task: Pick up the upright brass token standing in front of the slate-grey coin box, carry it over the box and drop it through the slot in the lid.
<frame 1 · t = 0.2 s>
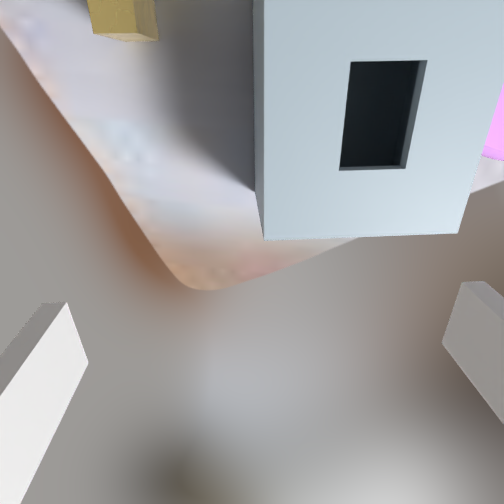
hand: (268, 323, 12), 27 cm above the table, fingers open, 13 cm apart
toy chair: (468, 99, 34), on the table
token: (137, 7, 29), on the table
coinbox: (333, 103, 34), on the table
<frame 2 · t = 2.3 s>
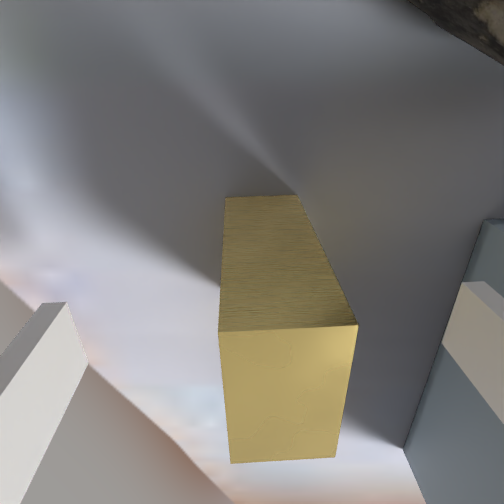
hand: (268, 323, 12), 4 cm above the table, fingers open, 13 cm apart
token: (261, 248, 15), on the table
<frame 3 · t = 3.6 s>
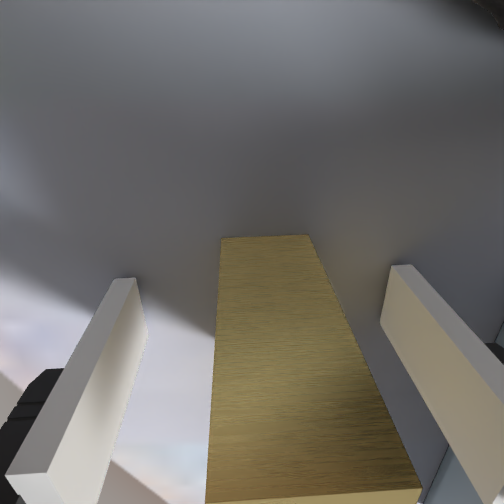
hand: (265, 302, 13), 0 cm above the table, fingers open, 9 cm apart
token: (265, 295, 13), on the table
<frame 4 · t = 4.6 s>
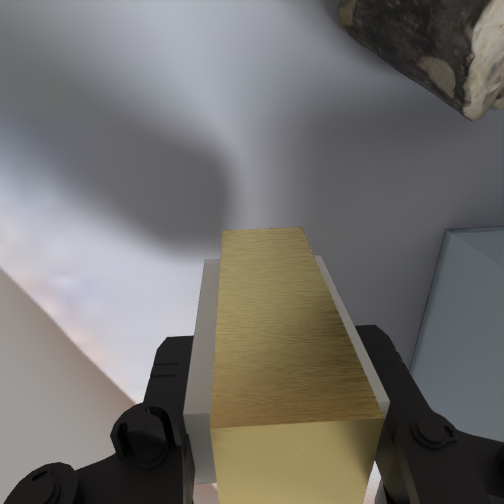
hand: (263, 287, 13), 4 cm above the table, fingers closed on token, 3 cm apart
token: (262, 283, 14), point 4 cm above the table, touching gripper
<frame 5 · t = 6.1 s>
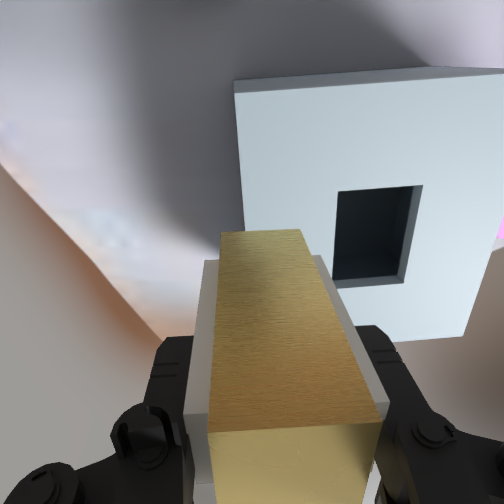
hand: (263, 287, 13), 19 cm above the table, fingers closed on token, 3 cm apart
token: (261, 285, 14), point 19 cm above the table, touching gripper
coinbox: (326, 181, 32), on the table
when the fingers open (13 cm above the table, at t = 7.9 s): token drops 12 cm, resting on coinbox.
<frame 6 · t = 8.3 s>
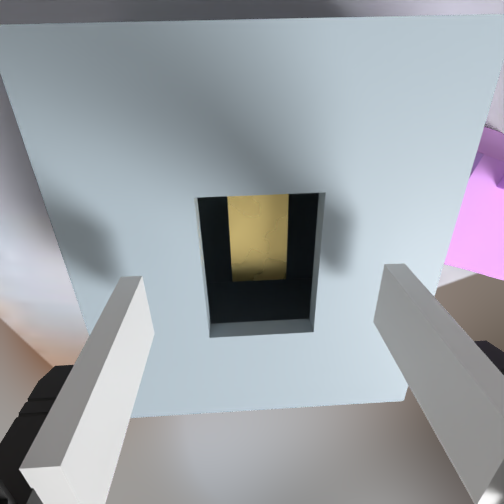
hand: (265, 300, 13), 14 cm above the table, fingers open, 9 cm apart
toy chair: (431, 178, 26), on the table
token: (251, 191, 25), resting on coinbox
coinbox: (248, 186, 25), on the table
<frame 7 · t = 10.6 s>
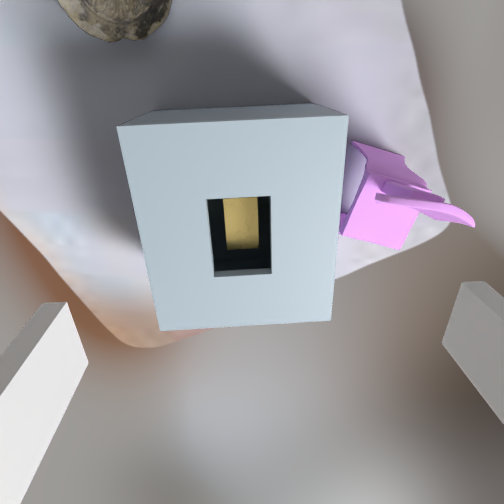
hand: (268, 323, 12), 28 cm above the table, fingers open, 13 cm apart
toy chair: (360, 186, 38), on the table
token: (240, 196, 38), resting on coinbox
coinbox: (238, 193, 38), on the table
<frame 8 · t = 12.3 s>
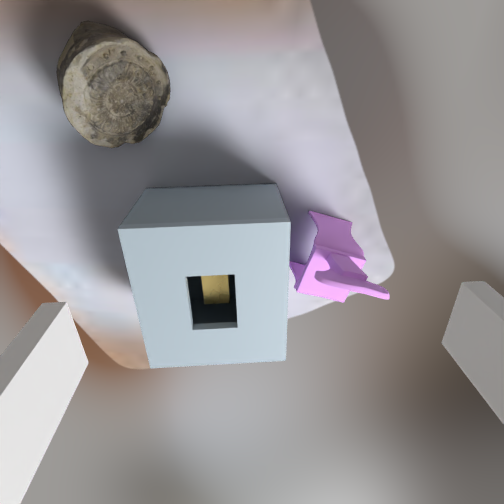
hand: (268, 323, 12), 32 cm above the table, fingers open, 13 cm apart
toy chair: (317, 244, 47), on the table
token: (217, 252, 46), resting on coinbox
fossil: (123, 89, 36), on the table
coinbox: (216, 249, 46), on the table
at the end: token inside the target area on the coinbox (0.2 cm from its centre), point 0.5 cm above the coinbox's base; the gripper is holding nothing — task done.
